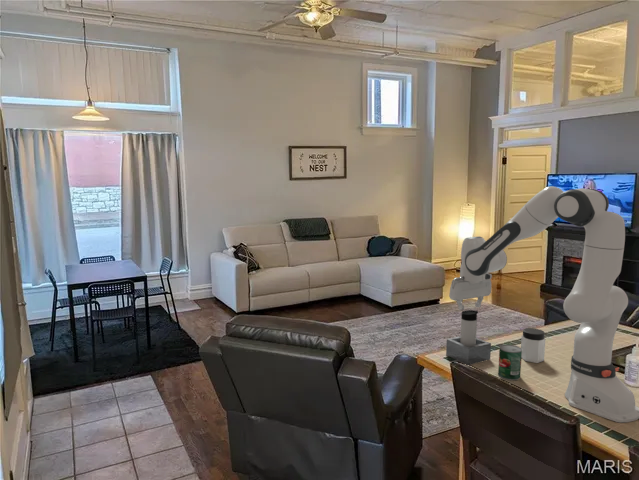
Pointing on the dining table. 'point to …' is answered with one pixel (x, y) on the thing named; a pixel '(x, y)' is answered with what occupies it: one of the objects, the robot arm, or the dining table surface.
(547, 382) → the dining table surface
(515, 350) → the canned tomato
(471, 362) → the grey square open box
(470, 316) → the travel mug
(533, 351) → the jar
